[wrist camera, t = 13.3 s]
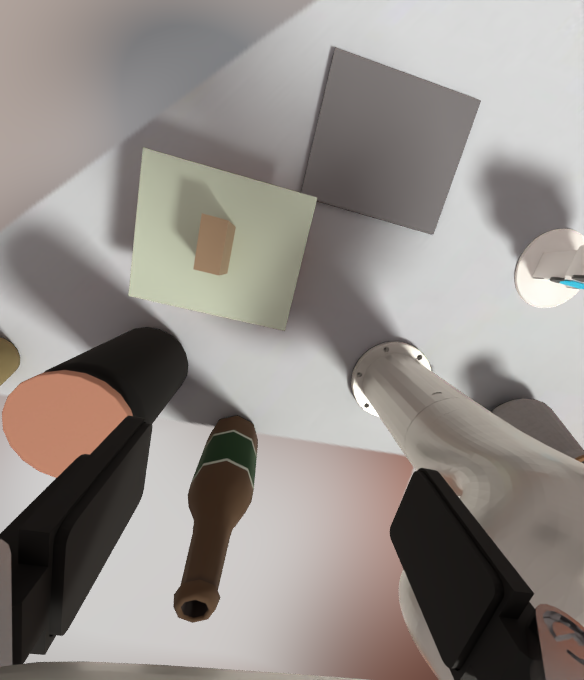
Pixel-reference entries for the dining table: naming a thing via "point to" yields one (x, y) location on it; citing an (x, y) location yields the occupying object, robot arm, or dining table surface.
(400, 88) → the mat
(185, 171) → the lid
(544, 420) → the coffee pot
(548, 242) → the panda figurine
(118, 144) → the dining table surface
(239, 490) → the beer bottle
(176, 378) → the coffee jar
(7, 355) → the squeeze bottle
